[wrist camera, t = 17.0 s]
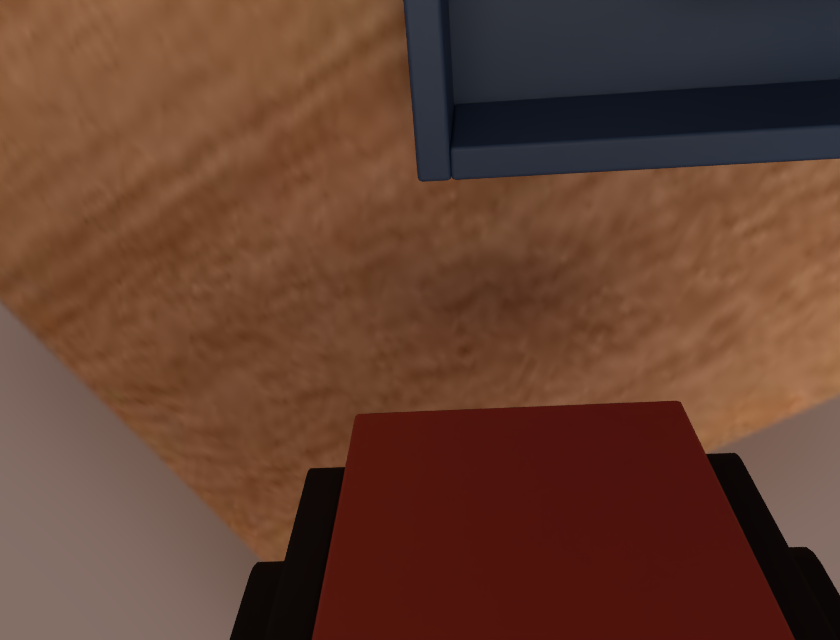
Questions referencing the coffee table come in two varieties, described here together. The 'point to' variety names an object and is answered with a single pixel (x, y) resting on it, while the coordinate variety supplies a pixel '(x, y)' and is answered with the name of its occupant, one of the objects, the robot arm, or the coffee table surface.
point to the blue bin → (620, 84)
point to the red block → (539, 531)
